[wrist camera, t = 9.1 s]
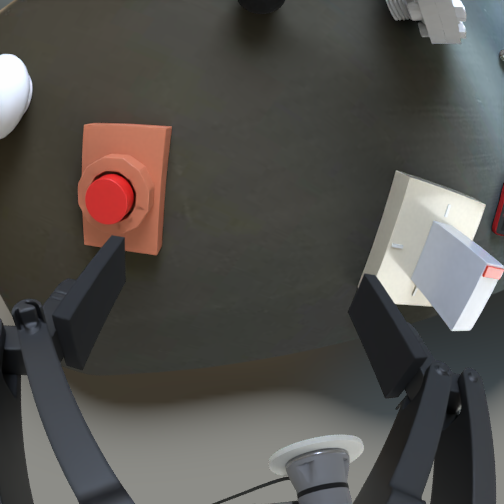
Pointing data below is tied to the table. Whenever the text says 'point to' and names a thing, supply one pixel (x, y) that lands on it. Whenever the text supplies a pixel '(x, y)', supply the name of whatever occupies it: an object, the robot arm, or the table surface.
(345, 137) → the table surface
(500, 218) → the cell phone
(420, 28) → the mechanical valve
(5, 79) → the flower vase
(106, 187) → the button
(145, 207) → the button block
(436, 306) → the grey rectangular block
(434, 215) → the cream rectangular base
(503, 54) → the tabletop clock
